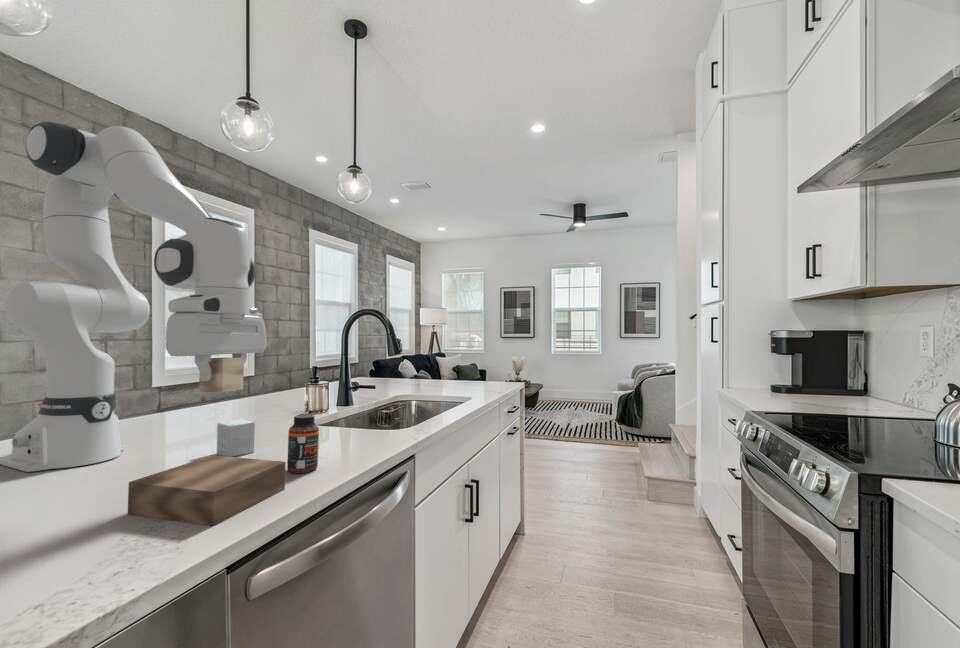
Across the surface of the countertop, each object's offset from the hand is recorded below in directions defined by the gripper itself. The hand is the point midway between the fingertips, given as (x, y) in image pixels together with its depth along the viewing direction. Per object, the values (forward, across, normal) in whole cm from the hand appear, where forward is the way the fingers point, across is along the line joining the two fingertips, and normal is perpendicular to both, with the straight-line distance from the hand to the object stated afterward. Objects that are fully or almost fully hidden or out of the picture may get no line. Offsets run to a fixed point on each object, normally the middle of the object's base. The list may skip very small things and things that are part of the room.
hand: (221, 379), depth 82 cm
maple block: (+2, 0, 0) cm, 2 cm away
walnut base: (+20, +6, +4) cm, 21 cm away
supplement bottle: (+20, -13, +8) cm, 25 cm away
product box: (+20, -20, -15) cm, 32 cm away
